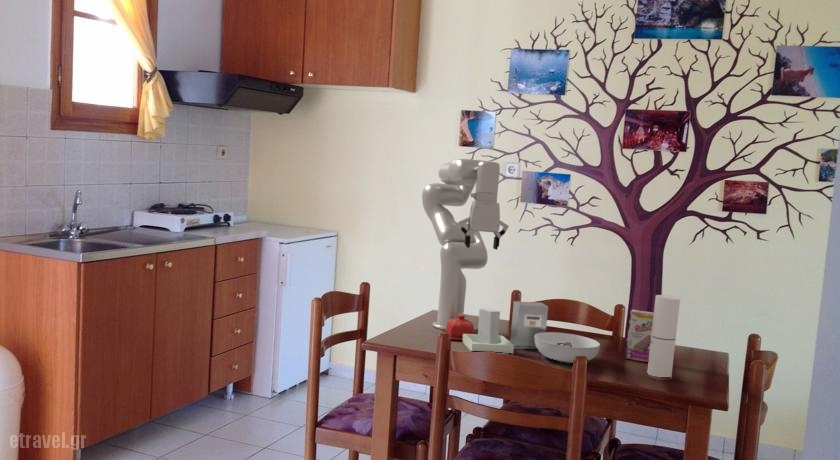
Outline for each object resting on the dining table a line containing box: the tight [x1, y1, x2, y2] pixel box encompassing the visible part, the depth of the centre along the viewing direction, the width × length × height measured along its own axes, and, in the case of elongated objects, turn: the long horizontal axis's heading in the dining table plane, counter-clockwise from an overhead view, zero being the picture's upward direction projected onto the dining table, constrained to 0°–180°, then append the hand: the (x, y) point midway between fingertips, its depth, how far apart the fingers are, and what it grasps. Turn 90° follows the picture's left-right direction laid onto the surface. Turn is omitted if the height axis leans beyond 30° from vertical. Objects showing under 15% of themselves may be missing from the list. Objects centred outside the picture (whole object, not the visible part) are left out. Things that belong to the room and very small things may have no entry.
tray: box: [461, 333, 515, 355], centre depth 255 cm, size 14×14×3 cm
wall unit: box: [507, 300, 549, 350], centre depth 260 cm, size 9×12×15 cm
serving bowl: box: [534, 331, 601, 364], centre depth 246 cm, size 21×21×7 cm
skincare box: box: [477, 307, 501, 344], centre depth 254 cm, size 6×4×12 cm
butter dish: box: [441, 314, 475, 341], centre depth 266 cm, size 12×12×8 cm
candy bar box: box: [624, 309, 654, 360], centre depth 254 cm, size 11×5×16 cm, turn 71°
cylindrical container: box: [646, 294, 681, 378], centre depth 233 cm, size 7×7×25 cm
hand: (481, 248), depth 259 cm, fingers open, 9 cm apart
